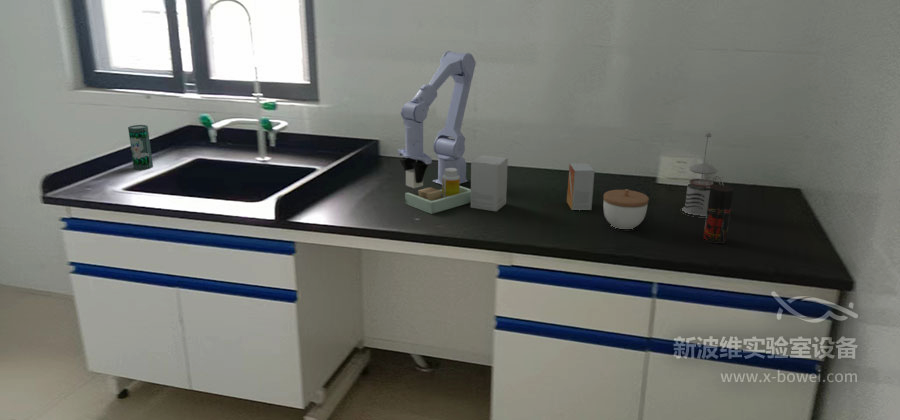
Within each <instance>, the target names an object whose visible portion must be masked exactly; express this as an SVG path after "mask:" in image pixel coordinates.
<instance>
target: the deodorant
mask: <svg viewBox="0 0 900 420" xmlns="http://www.w3.org/2000/svg"><path fill="white" fill-rule="evenodd" d="M709 190H710V194H709V201H708V208H707V214H706V217H705V222H704V229H703V235H702V239H703V238H704V239H706V240H708V241H711V242H724V241H727V236H728V230H729V222H730V217H731V210H732V203H733V198H734V192H735V189H734V187H731V186H728V185H724V184H723V185H722V184H721V185H720V184H713V185H712V186H711V187H710V188H709ZM704 239H703V240H704Z"/></svg>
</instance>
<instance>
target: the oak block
mask: <svg viewBox="0 0 900 420" xmlns="http://www.w3.org/2000/svg"><path fill="white" fill-rule="evenodd" d="M440 190H441V189H436V188H434V187H431V186H430V187H424V188H422V189H418V190H417V192H418V193H417V196H419V197H422V198H425V199H427V200H430V201H434V200H438V199H441V198H442V195H441V191H440Z"/></svg>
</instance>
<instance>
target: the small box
mask: <svg viewBox="0 0 900 420" xmlns="http://www.w3.org/2000/svg"><path fill="white" fill-rule="evenodd" d="M595 172H596V171H595V169H594V168H593V167H592V165H591V164H590V163H585V162H584V163H582V162H581V163H572V162H571V163H569V167H568V179H567V181H568V182H567V193H566V194H567V195H566V203H567V204H568V206H569V207H570V209H571V211H572V210H579V212H581V211H580V210H591V211H592V206H593V194H594V184H595V183H594V182H595Z"/></svg>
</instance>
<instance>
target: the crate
mask: <svg viewBox="0 0 900 420" xmlns="http://www.w3.org/2000/svg"><path fill="white" fill-rule="evenodd" d="M439 190H440V191H441V196H442V189H439ZM469 203H470V204H471V188H468V187H465V186H462V185H460V187H459V194H456V195H452V196H449V197H445V198H442V197H441V199H438V200H434V201H430V200H427V199H425V198H422V197H419V196H418V195H416V194H413V193H410V192H404V204H405V205H408V206H410V207H412V208H415V209H417V210H420V211H422V212H425V213H428V214H431V215H433V214H437V213H440V212H443V211H446V210H449V209H454V208H457V207H460V206H463V205H466V204H469Z"/></svg>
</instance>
